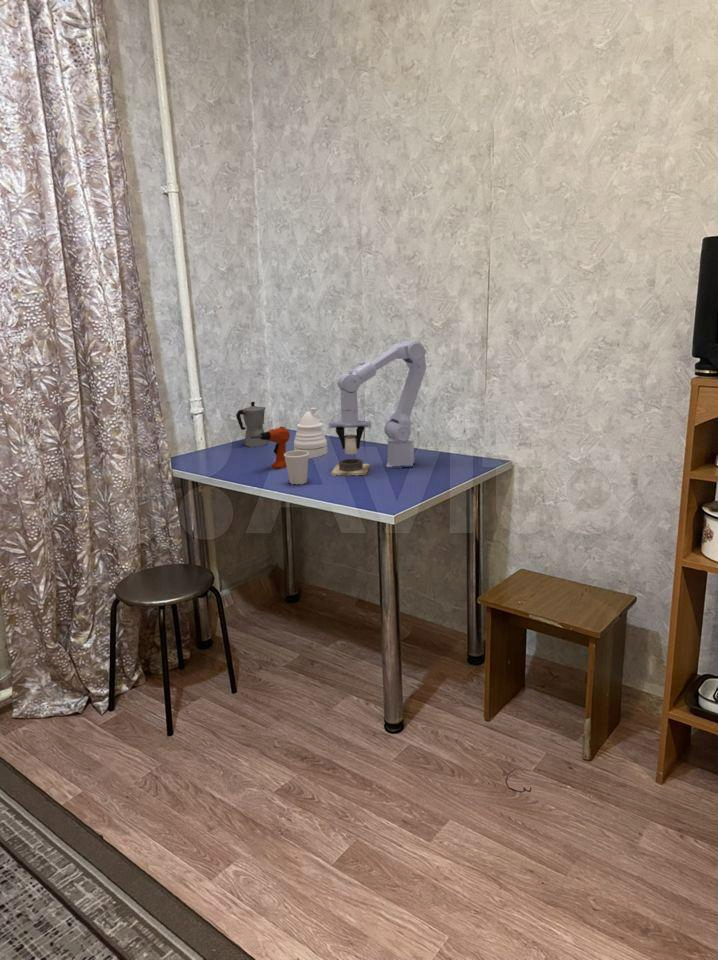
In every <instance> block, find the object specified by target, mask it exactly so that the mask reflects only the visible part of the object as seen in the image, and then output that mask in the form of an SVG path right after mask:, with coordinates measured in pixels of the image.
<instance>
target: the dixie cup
mask: <svg viewBox="0 0 718 960" xmlns="http://www.w3.org/2000/svg"><path fill="white" fill-rule="evenodd" d="M308 455H309V452H307V451H301V450H297V451H294V450H290V451H286V453H285V454H284V456H285V461H286V466H287V467H286V471H287V476H288V480H289V481H288V482H289V484H290V483H291V484H290V485H293V484H296V485H295V486H297V484H300V485H304V483H305V484H306V483H307V482H308V467H309V458H308Z"/></svg>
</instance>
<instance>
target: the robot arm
mask: <svg viewBox="0 0 718 960" xmlns="http://www.w3.org/2000/svg"><path fill="white" fill-rule="evenodd" d="M426 354H427V350H426V348H425V346H424V345H423V343H421V342H420V341H418V340H417V341H416V340H415V341H414V340H409V339H402V340H400V341H399V342H396V343H394V345H392V347H391V346H390V348H388V349H387V350H386V351H384V352H383V353H381V354H380V355H379V356H377V357H376V358H375V359H374V360H372V361H369V360H365V361H364V360H363V361H361V362H359V365H358V366H356V367H354V368H353V369H350V370H348V373H343V374H341V375H340V376H339V378H338V380H337V382H336V384H337V386H338V388H339V390H340V412H341V420H338V421H337V420H336V421H329V422H328V428H329V429H335V433H336V434H337V436H338V438H339V441H340V444H341V447H342V449H343V450H345V444H344V436H345V429H346V428H347V429H348V428H349V429H351V428H352V429H354V428H356V429H355V432H356V435H357V450H359V449H360V446H361V445H360V444H361V440H362V437H363V434H364V431H365V428H368V429H371V428H372V420H371V421H369V420H359V409H358V408H359V406H358V405H359V404H358V390H359V389H360V387H361V385H363V384H364V383H366V382H367V381H369V380H370V379H372V378H373V377H375V376H376V375H377V371H378V370H380V369H381V368H383V367H384V366H387V365H388V364H389V363H391V362H393V361H394V360H401V359H402V360H403V361H404V362H405V363H406V365H407V367H408V369H409V371H408V373H407V377H406V379H405V381H404V384H403V385H404V386H403V388H402V390H401V394H400V398H399V400H398V403H397V406H396V409H395V412H394V413H393V414H391V416H390V417H389V420H388V421H387V422H386V423H385V425H384V435H386V436H387V462H386V466H385V467H386V468H393V467H392V466H400V465H413V463H414V464H415V460H416V459H415V448H414V446H415V445H414V440H409V439H410V437H411V434H412V431H411V429H412V428H411V427H412V424H413V423H412V420H411V416H412V415H411V414H412V412H413V409H414V406H415V402H416V400H417V398H418V394H419V392H420V388H421V385H422V382H423V379H424V377H425V373H426V370H427V363H426ZM413 466H414V465H413Z"/></svg>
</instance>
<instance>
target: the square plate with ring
mask: <svg viewBox="0 0 718 960" xmlns="http://www.w3.org/2000/svg"><path fill="white" fill-rule="evenodd" d="M334 466H335V467H333V469H332V471H331V472H330V473H331V476H333V477H334V476H335V477H336V475H338V476H339V475H343V476H344V477H347V476H350V475H356V476H355V477H357V476H358V475H366V474H367V475H368V473H367V472H369V470H368V469H370V468H369V467H371V464H370V463H363V460H362V459H360V458H345V459H344V458H343V459H341V460H339V461H338V463H336V465H334ZM367 475H366V476H367ZM338 476H337V477H338ZM343 476H342V477H343ZM339 477H340V476H339ZM350 477H351V476H350Z"/></svg>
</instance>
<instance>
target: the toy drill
mask: <svg viewBox="0 0 718 960" xmlns="http://www.w3.org/2000/svg"><path fill="white" fill-rule="evenodd" d="M290 436H291V433H290V431H289V430H288V429H286V428H285V427H284V426H279V427H278V428H277V427H276V428H272V429H269V430H267V431H264V433H261V434H260V435H256V436H251V437H250V438H251V439H252V438H260V439H262V440H266V441H269V442H273V443H275V447H274V450H273V453H274V454H275V461H274V462H273V463H272V464H271V466H270V467H271V469H275V470H279V469H285V468H287V466H286V461H285V456H284V454H285V453H286V452H287V451H286V449H287V448H286V443H287V442H288V441H289V439H290Z"/></svg>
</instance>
